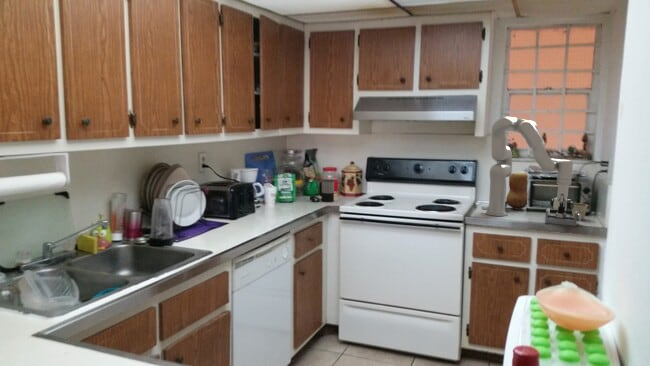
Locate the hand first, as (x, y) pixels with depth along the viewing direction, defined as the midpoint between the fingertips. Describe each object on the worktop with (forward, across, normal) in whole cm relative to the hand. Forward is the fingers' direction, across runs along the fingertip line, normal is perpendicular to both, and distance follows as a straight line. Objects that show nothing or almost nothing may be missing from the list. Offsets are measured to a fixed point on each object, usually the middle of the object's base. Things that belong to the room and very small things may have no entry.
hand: (561, 212), depth 294 cm
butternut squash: (+6, -33, -29) cm, 44 cm away
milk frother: (+7, +12, -151) cm, 152 cm away
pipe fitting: (+6, 0, 0) cm, 6 cm away
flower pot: (+6, -20, +8) cm, 23 cm away
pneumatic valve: (+3, 0, 0) cm, 3 cm away
